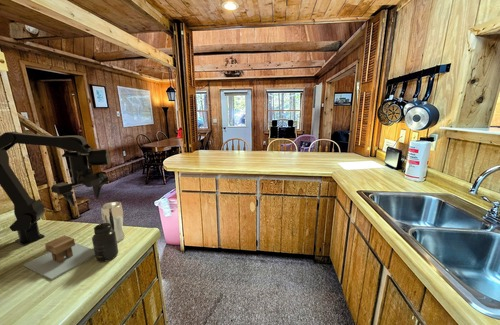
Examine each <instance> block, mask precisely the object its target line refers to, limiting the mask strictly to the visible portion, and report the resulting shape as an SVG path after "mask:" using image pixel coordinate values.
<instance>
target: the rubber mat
mask: <svg viewBox="0 0 500 325" xmlns="http://www.w3.org/2000/svg"><path fill="white" fill-rule="evenodd" d="M71 248H72V253H73V256H72V257H70V258H66V256H64V259H65V260H64V261H63V262H61V263H59V262H57V260H56V261H54V260H53V258H52V253H51V252H49V251H48V252H46V253H45V254H43V255H40V256H38V257H36V258H35V259H32V260H30V261H28V262H26V263H23V267H25V268H27V269H29V270H31V271H32V272H35V273H37V274H38V275H41V276H42V277H45V278H47V279H48V280H50V281H54V280H56V279H58V278H59V277H61V276H62V275H65V274H66V273H68V272H70V271H71V270H73V269H75V268H76V267H78V266H80V265H82V264H83V263H85V262H87V261H88V260H90V259H92V258H94V257H95V253H94V248H91V247H88V246H85V245H82V244H80V243H77V242H75V246H72V247H71Z"/></svg>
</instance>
